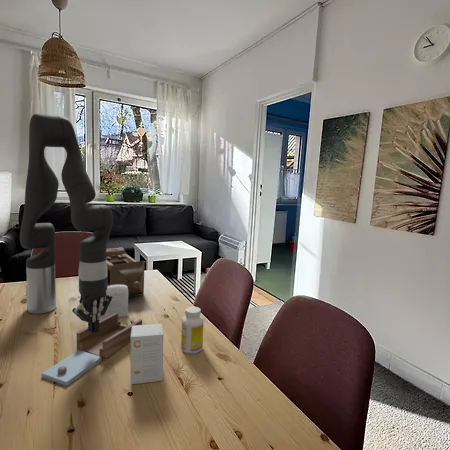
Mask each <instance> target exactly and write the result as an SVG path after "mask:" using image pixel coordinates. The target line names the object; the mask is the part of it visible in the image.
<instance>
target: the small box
mask: <svg viewBox="0 0 450 450" xmlns="http://www.w3.org/2000/svg"><path fill="white" fill-rule="evenodd" d="M130 338H131V343H130V385H137V384H146V383H154V382H155V383H156V382H162V381H163V376H164V373H163V372H164V330H163V323H150V324H142V325H134V326H132V330H131V337H130Z"/></svg>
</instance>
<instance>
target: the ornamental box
mask: <svg viewBox="0 0 450 450" xmlns="http://www.w3.org/2000/svg"><path fill="white" fill-rule="evenodd" d="M106 259H107V286H110V285H126V286H127V287H128V298H131V297H136V296H142V295H143V296H144V294H145V291H144V288H145V267H146V262H147V261H146V260H141V261H140V260H139V261H137V260H135V259H134V258H133V257H131V256H130V255H128V253H127V252H126V251H125V249H124V248H123V247H122V246H121V247H114V248H113V247H112V248H107V250H106Z"/></svg>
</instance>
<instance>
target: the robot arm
mask: <svg viewBox="0 0 450 450" xmlns="http://www.w3.org/2000/svg"><path fill="white" fill-rule="evenodd" d="M28 125H29V126H28V166H27V174H26V180H25V191H24V207H23V208H24V209H23V213H22V214H23V215H22V220H21V225H20V231H19V242H20V246H21V247H22V248H24V249H26V250H34V249H42V250H41V251H40V252H38V253H36V254H34V255H32V256H30V257H28V258H27V259H26V261H25V266H26V267H25V268H26V269H25V271H26V285H25V295H26V297H25V299H26V310H27V311H28V313H30V314H33V315H34V314H36V315H38V314H46V313H49V312H52V311H54V310H55V309H57V292H56V291H57V290H56V289H57V287H56V263H55V262H56V260H55V259H56V229H55V227H54V225H53V223H51V222H39V223H38V221H39V219H40V218H41V216H42V215H43V214H45V213H46V212H47V211H48V210H49V209H50V208H51V207H52V206H53V205H54V204H55V202H56V201H57V197H58V192H59V186H60V185H59V179H58V177H57V175H56V173H55V171H54V170H53V169H52V168H51V166H50V164H49V163H48V161H47V159H46V157H45V151H46V148H47V147H48V148H63V149H64V151H65V152H66V157H65V160H64V164H63V166H62V169H61V174H60V175H61V182H62V184H63V188H64V189H65V192H66V194H67V197H68V198H69V204H70V205H69V206H70V221H71V223H72V226H73V227H74V228H75V229H76V230H77V231H79V232H92V234H91V235H90V236H89V237H87V238H84V239H82V240H81V241H80V242H79V247H78V248H79V250H78V251H79V256H78V257H79V259H78V260H79V262H78V263H79V264H78V292H79V294H80V297H79V301H78V303H79V304H78V305H77V307H73V308H72V310H71V311H72V313H73V314H75V316H76V317H78V318H79V320H80V321H82V322H85V323H87V327H88V331H89V332H90V333H93V334H94V333H96V332H98V329H99V321H100V317H101V316H102V315H104V314H105V312H106V310H107V308H108V306H109V304H110V302H111V300H112V296H109V295H107V294H106V290H107V259H106V250H107V249H108V248H107V245H108V242H109V238H110V235H111V230H112V228H113V224H114V215H113V212H112V209H111V208H110V207H109V206H108V205H105V204H91V205H87V204H89V203H91V202H93V201H94V200H95V198H96V195H97V194H96V190H95V188H94V185H93V184H92V181H91V179H90V177H89V175H88V172H87V170H86V167H85V164H84V161H83V156H82V154H81V148H80V144H79V142H78V139H77V135H76V130H75V128H74V126H73V124H72V122H71V120H70V119H69V118H67V117H65V116H61V115H54V114H44V113H35V114H32V115H31V118H30V120H29V124H28ZM102 307H104V308H103V310H102Z"/></svg>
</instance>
